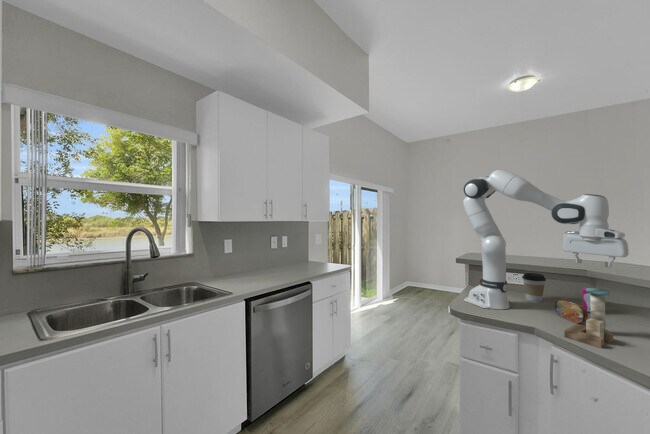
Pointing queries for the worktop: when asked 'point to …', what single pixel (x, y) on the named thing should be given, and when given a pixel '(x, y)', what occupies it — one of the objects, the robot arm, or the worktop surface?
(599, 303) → the bobbin post
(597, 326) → the maple block
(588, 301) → the supplement box
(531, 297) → the coffee cup
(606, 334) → the notched board
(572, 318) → the tin
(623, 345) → the worktop surface
